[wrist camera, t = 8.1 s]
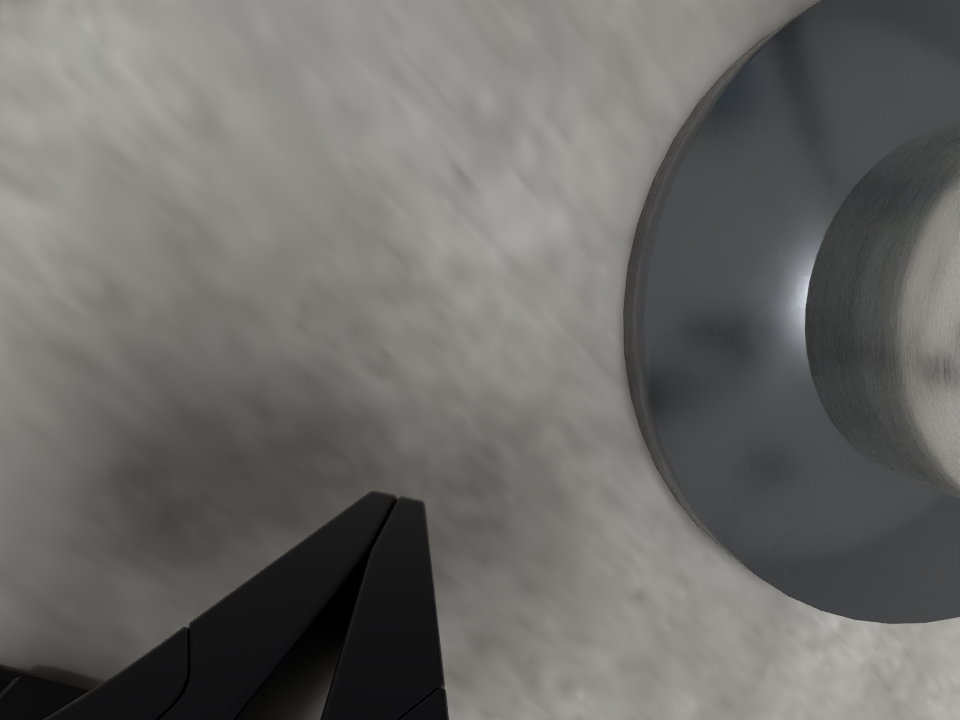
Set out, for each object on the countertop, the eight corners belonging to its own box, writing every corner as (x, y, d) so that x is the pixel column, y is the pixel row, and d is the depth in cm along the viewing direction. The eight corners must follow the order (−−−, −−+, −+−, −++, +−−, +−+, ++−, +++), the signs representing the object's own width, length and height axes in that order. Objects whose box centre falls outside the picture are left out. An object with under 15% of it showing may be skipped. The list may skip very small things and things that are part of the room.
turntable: (1001, 661, 26) (1062, 698, 24) (521, 488, 22) (538, 513, 19) (1253, 155, 25) (1343, 142, 22) (795, -151, 20) (850, -208, 18)
